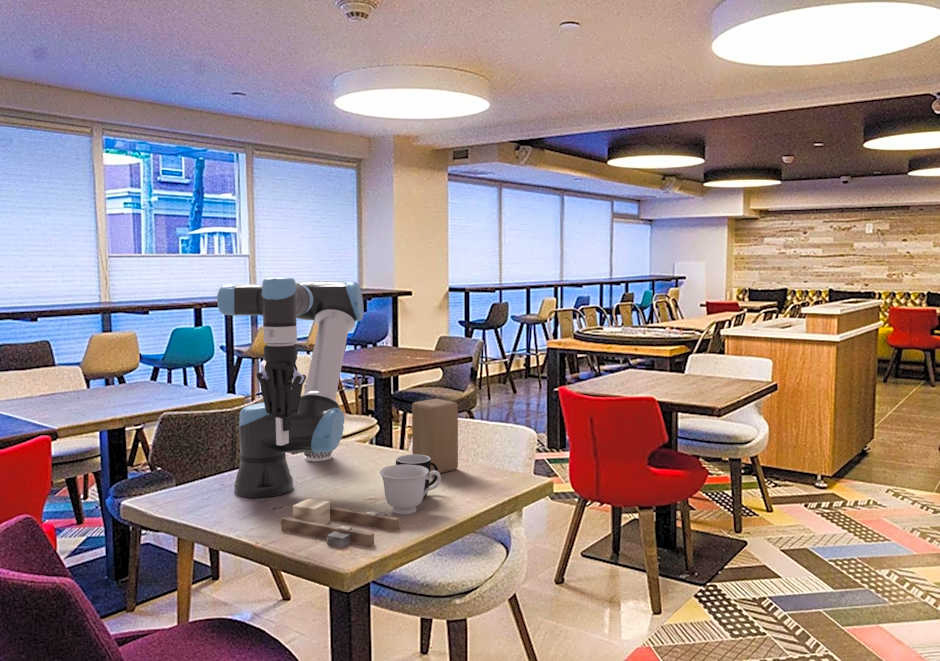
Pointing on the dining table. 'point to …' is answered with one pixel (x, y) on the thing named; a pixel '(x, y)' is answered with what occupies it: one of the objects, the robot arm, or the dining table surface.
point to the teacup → (406, 486)
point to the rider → (312, 510)
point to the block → (436, 432)
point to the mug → (421, 461)
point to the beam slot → (343, 533)
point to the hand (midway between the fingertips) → (282, 443)
